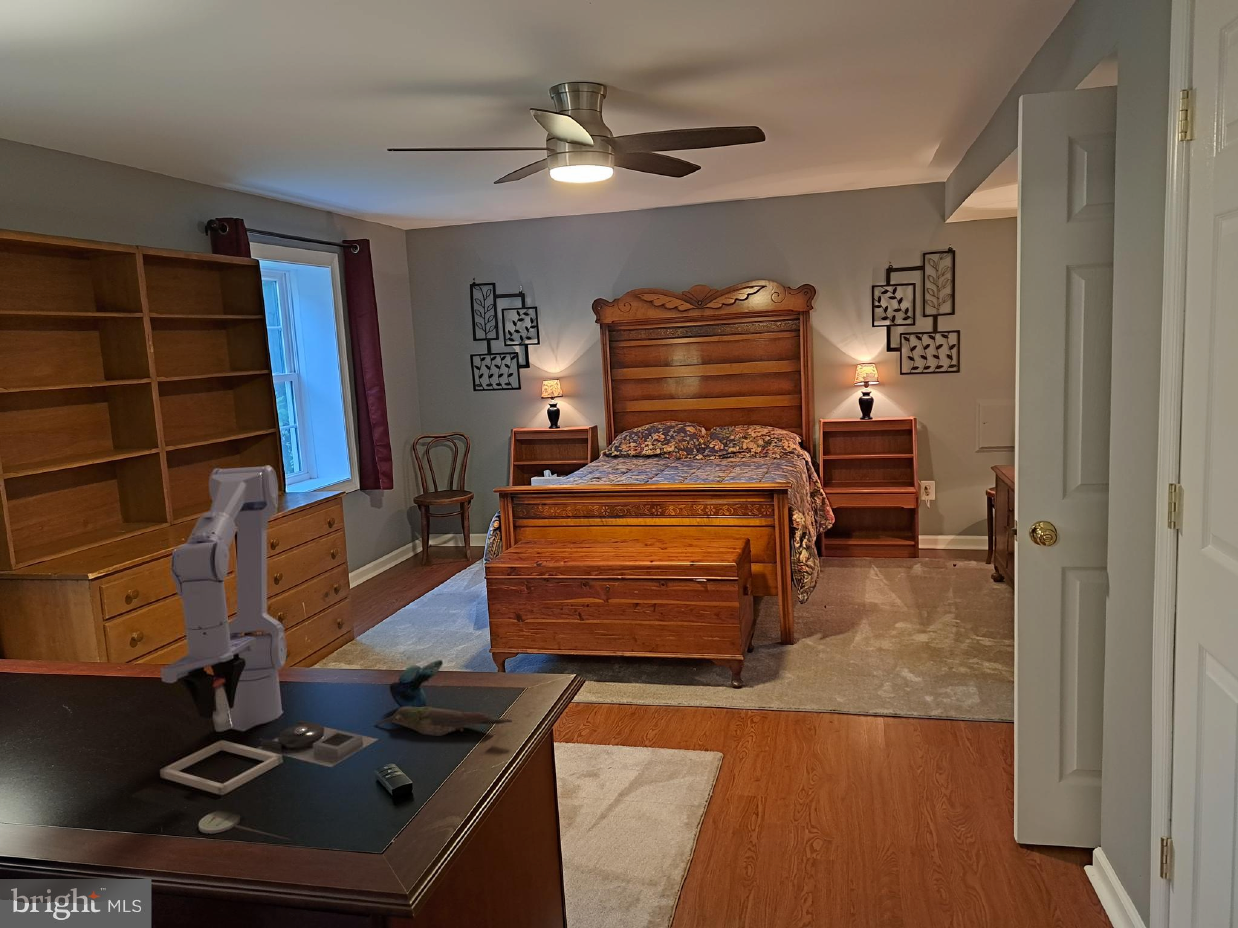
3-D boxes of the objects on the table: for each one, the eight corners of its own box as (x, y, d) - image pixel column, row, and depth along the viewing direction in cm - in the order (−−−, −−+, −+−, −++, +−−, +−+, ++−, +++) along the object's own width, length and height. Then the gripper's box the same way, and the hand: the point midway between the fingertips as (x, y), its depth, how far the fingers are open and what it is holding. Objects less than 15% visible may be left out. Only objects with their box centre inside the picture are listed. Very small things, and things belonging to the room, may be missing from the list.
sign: (275, 848, 110) (189, 825, 116) (275, 854, 111) (190, 831, 117) (305, 827, 115) (221, 806, 121) (305, 833, 115) (221, 811, 121)
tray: (161, 784, 129) (159, 769, 129) (223, 753, 139) (221, 739, 138) (223, 802, 123) (221, 787, 123) (283, 769, 132) (281, 755, 132)
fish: (441, 721, 147) (437, 664, 146) (386, 718, 149) (381, 662, 148) (451, 710, 151) (447, 655, 150) (397, 708, 153) (393, 653, 152)
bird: (518, 735, 141) (516, 705, 140) (506, 749, 136) (504, 719, 135) (378, 725, 147) (376, 696, 146) (362, 738, 142) (359, 709, 141)
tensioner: (257, 755, 137) (255, 737, 137) (306, 729, 146) (304, 712, 146) (331, 774, 130) (329, 755, 130) (378, 746, 139) (377, 728, 138)
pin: (207, 731, 129) (197, 682, 128) (224, 721, 132) (214, 673, 131) (224, 733, 128) (213, 683, 127) (240, 722, 131) (230, 673, 130)
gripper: (180, 642, 119) (191, 736, 121) (266, 611, 132) (275, 697, 134) (147, 636, 123) (158, 728, 125) (234, 607, 135) (243, 690, 137)
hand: (216, 711), depth 129 cm, fingers closed on pin, 3 cm apart
